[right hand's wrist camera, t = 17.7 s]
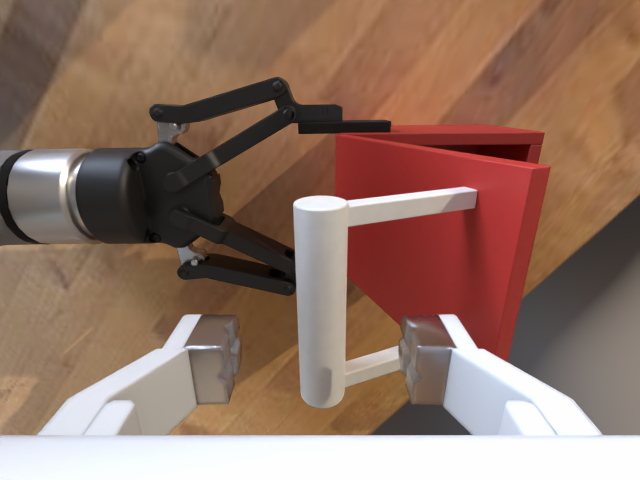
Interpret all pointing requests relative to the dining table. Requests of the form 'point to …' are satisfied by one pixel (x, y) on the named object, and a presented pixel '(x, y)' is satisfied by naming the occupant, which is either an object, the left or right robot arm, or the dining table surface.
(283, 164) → the dining table surface
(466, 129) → the chest
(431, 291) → the lid
